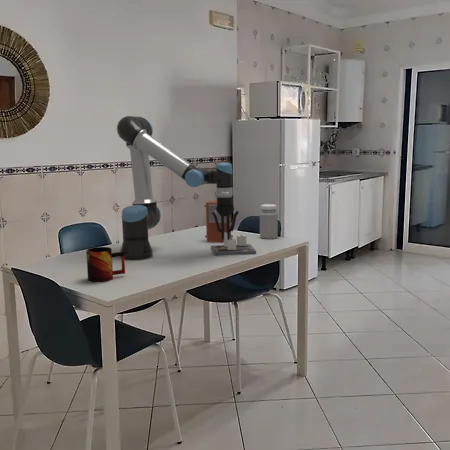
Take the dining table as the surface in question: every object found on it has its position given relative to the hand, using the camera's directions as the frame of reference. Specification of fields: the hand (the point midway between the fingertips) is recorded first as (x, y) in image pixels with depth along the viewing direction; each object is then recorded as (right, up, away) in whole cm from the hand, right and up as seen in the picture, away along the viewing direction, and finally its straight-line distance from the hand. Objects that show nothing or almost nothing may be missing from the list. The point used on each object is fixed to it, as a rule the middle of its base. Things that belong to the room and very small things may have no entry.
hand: (225, 245), depth 247 cm
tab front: (+3, -2, +1) cm, 3 cm away
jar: (+23, +3, +37) cm, 44 cm away
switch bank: (+3, -3, +5) cm, 7 cm away
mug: (-48, -11, -40) cm, 64 cm away
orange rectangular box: (-4, +1, +29) cm, 29 cm away
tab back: (+8, 0, +9) cm, 12 cm away
